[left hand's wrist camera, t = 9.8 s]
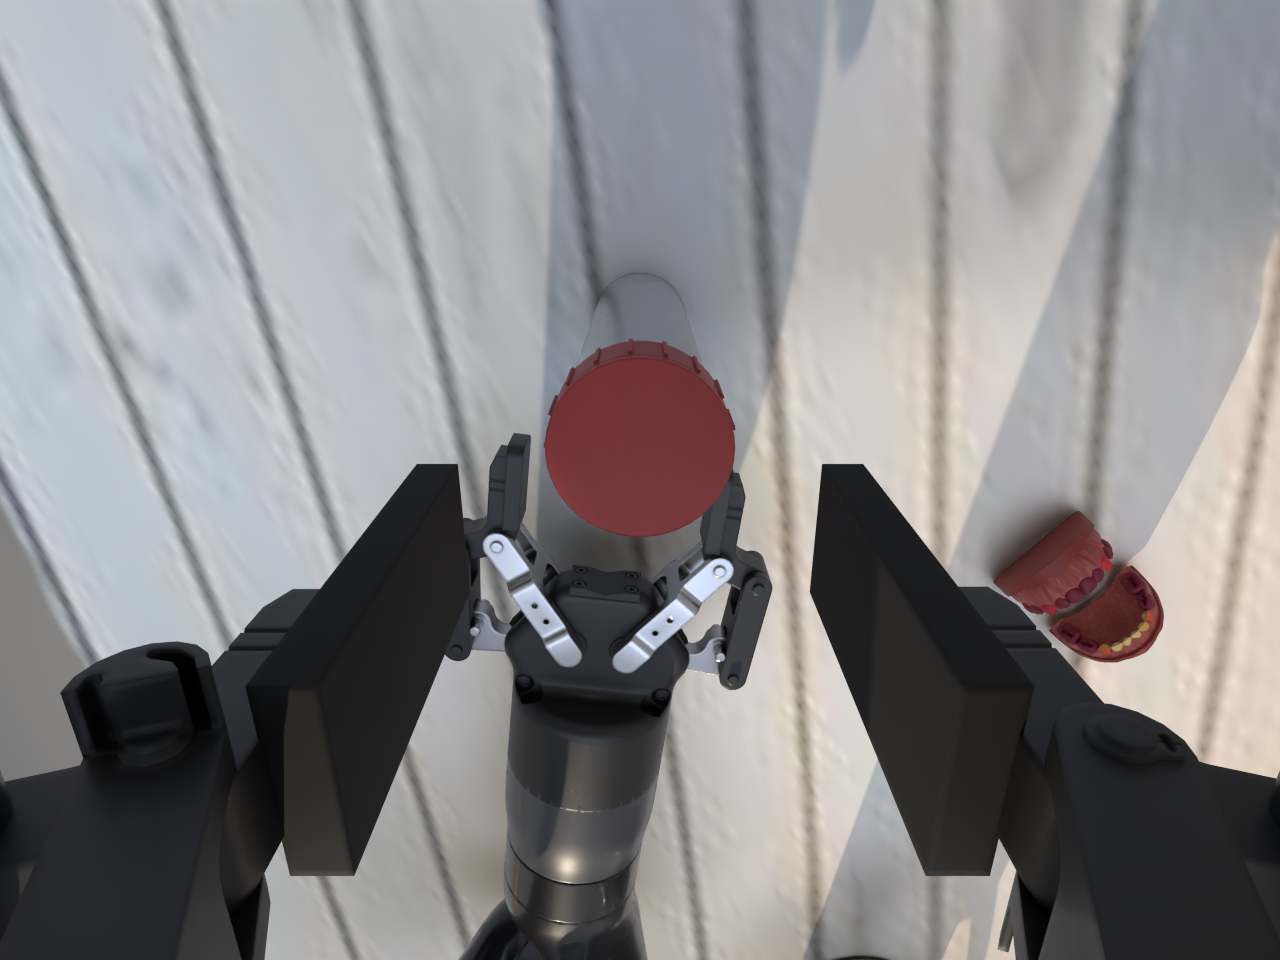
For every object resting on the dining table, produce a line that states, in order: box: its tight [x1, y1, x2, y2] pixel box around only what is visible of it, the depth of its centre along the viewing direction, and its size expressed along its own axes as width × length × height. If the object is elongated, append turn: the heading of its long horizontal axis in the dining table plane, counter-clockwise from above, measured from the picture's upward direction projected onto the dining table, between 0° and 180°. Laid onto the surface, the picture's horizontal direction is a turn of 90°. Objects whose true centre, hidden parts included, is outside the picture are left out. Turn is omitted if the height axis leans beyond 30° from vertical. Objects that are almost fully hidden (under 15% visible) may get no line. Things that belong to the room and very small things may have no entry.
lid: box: [544, 338, 735, 537], centre depth 19 cm, size 5×5×2 cm
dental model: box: [994, 511, 1164, 662], centre depth 39 cm, size 6×4×8 cm
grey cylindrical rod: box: [577, 273, 703, 366], centre depth 27 cm, size 4×4×18 cm
